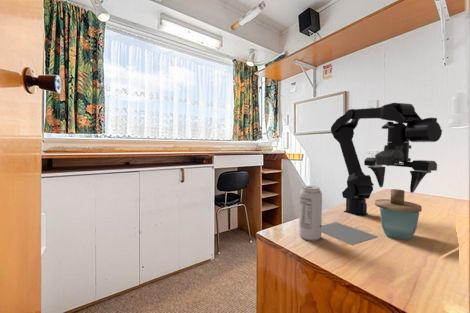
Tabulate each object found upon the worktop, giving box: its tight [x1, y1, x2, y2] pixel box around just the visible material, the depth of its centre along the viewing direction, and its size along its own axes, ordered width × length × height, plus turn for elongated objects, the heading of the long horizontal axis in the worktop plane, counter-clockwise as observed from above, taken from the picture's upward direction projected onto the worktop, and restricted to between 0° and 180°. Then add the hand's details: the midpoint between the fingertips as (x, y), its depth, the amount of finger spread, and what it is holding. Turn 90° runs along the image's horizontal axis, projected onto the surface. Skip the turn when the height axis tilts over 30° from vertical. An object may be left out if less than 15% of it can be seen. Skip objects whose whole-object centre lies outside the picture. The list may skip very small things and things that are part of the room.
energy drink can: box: [298, 185, 323, 242], centre depth 63 cm, size 6×6×15 cm
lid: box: [374, 188, 423, 213], centre depth 64 cm, size 11×11×5 cm
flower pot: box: [379, 207, 420, 241], centre depth 64 cm, size 9×9×9 cm
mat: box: [321, 221, 379, 246], centre depth 67 cm, size 14×12×1 cm
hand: (395, 189), depth 71 cm, fingers open, 9 cm apart
